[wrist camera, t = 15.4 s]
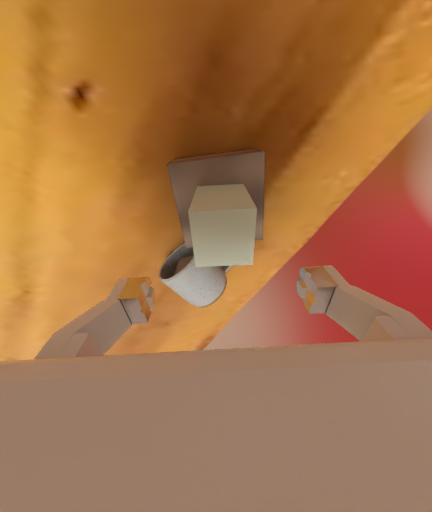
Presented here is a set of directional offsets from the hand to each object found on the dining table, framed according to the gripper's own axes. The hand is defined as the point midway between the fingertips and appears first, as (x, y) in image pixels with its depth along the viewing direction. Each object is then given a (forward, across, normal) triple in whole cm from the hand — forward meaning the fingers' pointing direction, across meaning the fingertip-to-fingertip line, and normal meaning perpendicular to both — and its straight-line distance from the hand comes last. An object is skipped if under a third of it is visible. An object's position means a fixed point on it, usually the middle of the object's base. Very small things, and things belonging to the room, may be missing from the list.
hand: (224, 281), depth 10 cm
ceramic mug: (+18, +3, +10) cm, 21 cm away
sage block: (+13, 0, 0) cm, 13 cm away
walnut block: (+18, 0, 0) cm, 18 cm away
